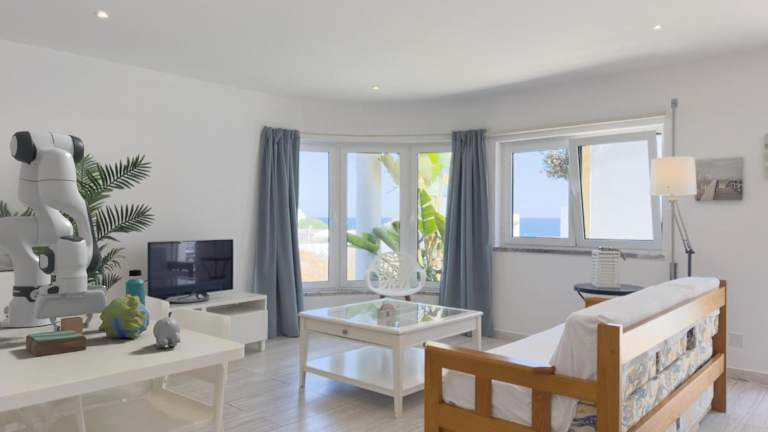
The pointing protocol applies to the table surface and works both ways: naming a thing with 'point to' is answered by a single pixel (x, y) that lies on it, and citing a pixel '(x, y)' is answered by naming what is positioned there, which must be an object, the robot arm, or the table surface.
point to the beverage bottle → (136, 286)
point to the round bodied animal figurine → (166, 332)
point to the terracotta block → (72, 324)
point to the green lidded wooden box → (55, 342)
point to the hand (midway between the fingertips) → (71, 329)
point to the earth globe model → (124, 318)
